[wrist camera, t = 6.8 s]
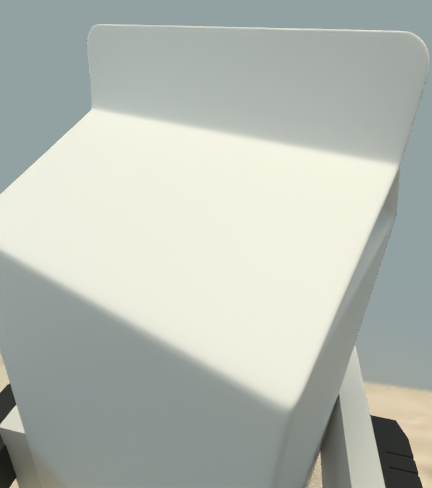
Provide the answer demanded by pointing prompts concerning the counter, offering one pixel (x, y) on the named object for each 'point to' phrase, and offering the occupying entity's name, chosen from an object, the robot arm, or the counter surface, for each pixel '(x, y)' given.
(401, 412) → the counter surface
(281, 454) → the milk
